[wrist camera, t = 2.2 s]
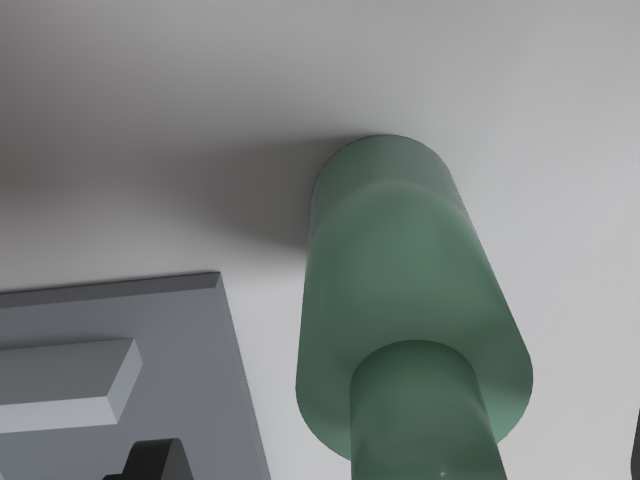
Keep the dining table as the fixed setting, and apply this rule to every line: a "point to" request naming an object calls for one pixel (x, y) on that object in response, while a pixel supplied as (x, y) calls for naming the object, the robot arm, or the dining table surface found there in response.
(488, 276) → the green bottle
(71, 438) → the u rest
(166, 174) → the dining table surface
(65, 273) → the dining table surface
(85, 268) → the dining table surface
